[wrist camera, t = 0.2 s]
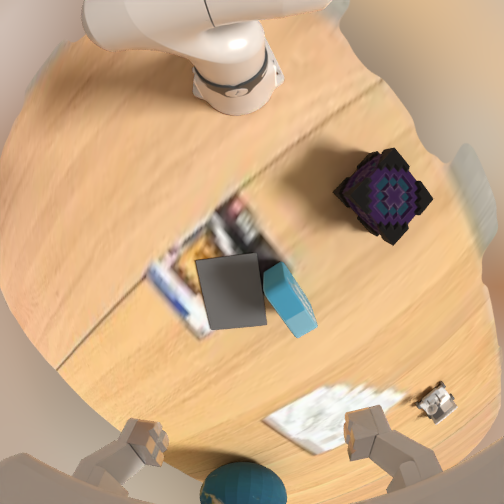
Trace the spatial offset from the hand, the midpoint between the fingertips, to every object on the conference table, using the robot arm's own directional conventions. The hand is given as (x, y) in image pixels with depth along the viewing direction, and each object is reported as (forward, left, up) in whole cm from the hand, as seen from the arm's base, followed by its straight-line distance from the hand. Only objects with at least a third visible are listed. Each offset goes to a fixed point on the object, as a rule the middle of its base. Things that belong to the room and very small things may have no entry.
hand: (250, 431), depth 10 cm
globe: (+86, -17, -48) cm, 100 cm away
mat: (+13, -8, -47) cm, 50 cm away
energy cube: (-5, +24, -48) cm, 53 cm away
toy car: (+64, +51, -48) cm, 95 cm away
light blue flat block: (+13, +4, -48) cm, 49 cm away
